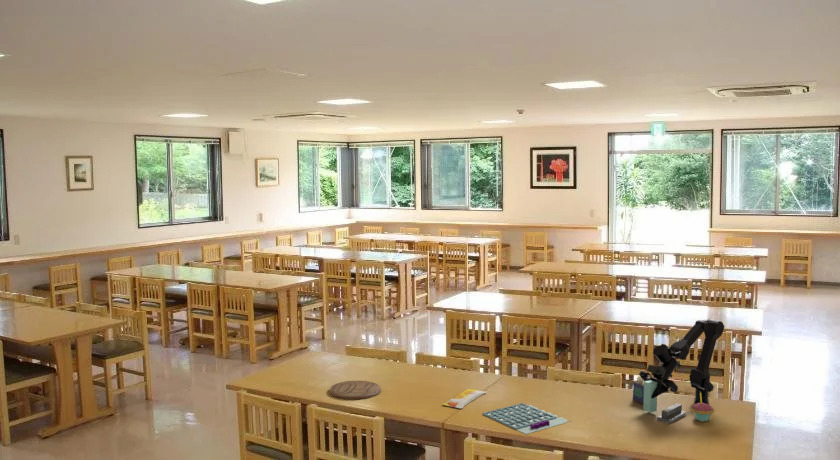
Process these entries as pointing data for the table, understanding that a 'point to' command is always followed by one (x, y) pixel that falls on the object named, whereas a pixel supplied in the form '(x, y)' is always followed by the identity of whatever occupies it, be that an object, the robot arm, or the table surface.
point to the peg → (649, 396)
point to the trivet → (355, 390)
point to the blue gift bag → (638, 391)
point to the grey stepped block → (671, 414)
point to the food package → (464, 398)
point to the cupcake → (702, 410)
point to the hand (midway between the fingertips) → (648, 396)
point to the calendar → (525, 418)
